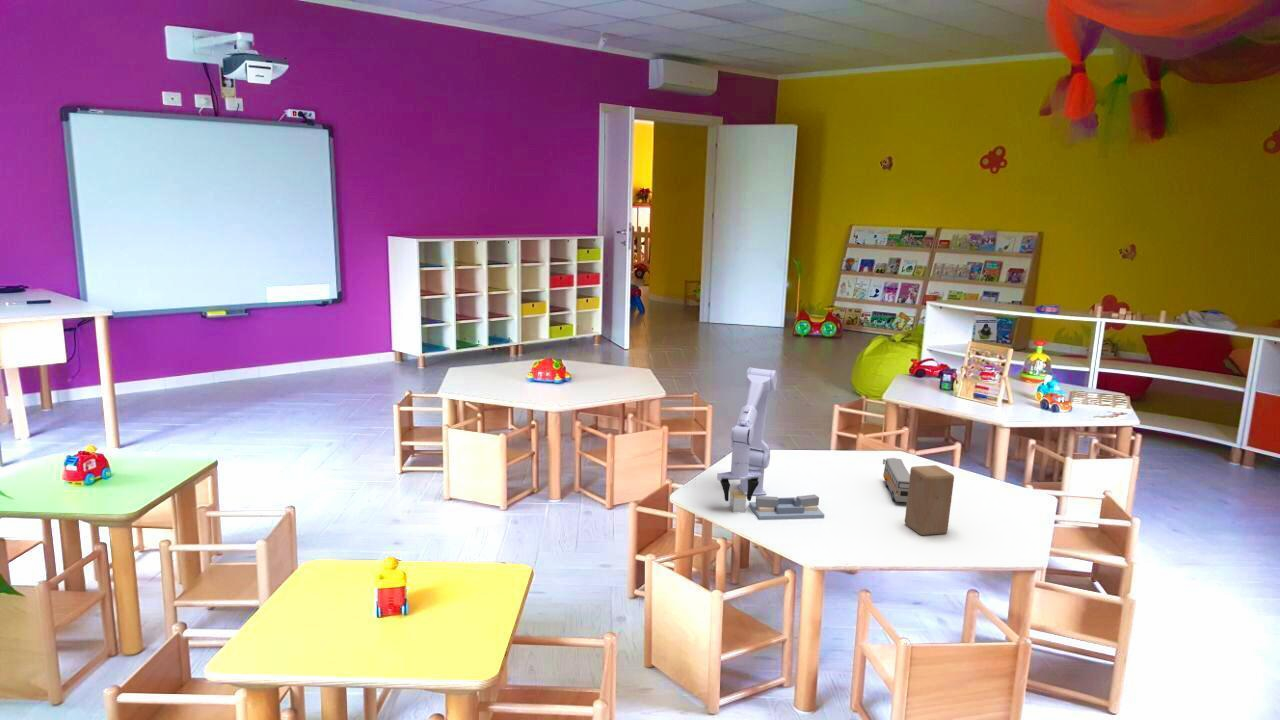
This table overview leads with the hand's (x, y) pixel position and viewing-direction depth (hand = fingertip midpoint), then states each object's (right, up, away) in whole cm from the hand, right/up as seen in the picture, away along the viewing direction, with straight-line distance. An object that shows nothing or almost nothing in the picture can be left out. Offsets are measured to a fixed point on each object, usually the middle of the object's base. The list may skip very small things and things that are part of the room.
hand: (737, 500), depth 281 cm
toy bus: (+59, -1, +22) cm, 63 cm away
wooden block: (+59, -8, -9) cm, 61 cm away
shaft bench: (+16, -4, +1) cm, 17 cm away
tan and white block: (0, -3, +1) cm, 3 cm away
